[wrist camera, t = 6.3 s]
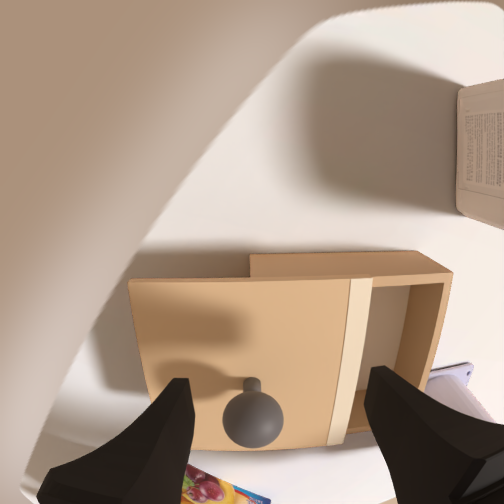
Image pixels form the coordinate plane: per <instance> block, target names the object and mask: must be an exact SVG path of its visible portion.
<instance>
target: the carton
mask: <svg viewBox="0 0 504 504" xmlns="http://www.w3.org/2000/svg"><path fill="white" fill-rule="evenodd" d="M354 274H369V275H370V276H371V277H372V278H373V283H372V292H371V300H370V308H369V315H368V322H367V329H366V335H365V342H364V348H363V354H362V359H361V365H360V370H359V375H358V381H357V386H356V390H355V395H354V400H353V404H352V409H351V413H350V418H349V422H348V426H347V430H346V434H352V433H358V432H365V431H370V430H371V428H370V425H369V422H368V419H367V416H366V412H365V408H364V405H363V404H364V399H365V395H366V390H367V385H368V380H369V375H370V370H371V367H376V366H383V365H385V366H387V367H388V368H389V369H391V370H392V371H394V372H395V373H396V374H398V375H399V376H401V377H402V378H403V379H405V380H406V381H407V382H409V383H410V384H412V385H413V386H415V387H416V388H417V389H419V390H420V391H422V392H423V393H424V390H425V387H426V384H427V381H428V377H429V374H430V371H431V368H432V364H433V361H434V357H435V354H436V350H437V347H438V343H439V339H440V335H441V331H442V327H443V323H444V318H445V314H446V309H447V305H448V300H449V295H450V290H451V284H452V278H453V272H452V271H450V270H449V269H447V268H445V267H444V266H442V265H440V264H439V263H437V262H435V261H434V260H432V259H430V258H429V257H427V256H425V255H423V254H422V253H420V252H418V251H384V252H334V253H281V254H250V277H291V276H326V275H354Z"/></svg>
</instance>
